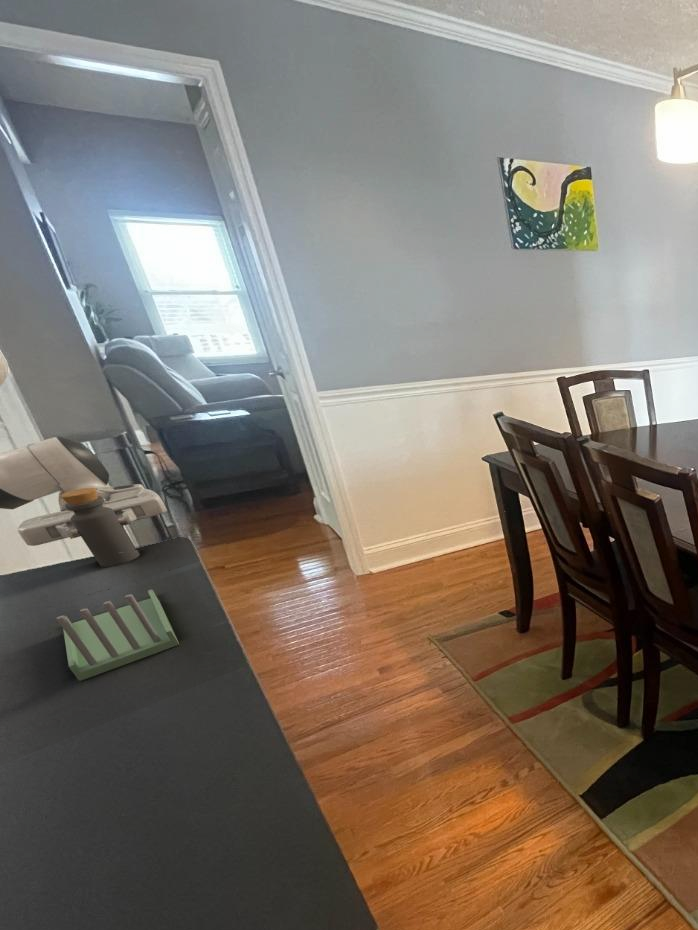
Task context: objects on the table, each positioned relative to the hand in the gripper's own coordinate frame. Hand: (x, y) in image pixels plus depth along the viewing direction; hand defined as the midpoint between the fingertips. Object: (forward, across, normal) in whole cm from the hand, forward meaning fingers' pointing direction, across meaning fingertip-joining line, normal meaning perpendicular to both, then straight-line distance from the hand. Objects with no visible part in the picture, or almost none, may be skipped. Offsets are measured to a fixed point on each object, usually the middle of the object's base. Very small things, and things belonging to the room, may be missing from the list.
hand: (99, 527), depth 113 cm
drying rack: (+36, -3, +8) cm, 37 cm away
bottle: (-1, 0, +8) cm, 8 cm away
